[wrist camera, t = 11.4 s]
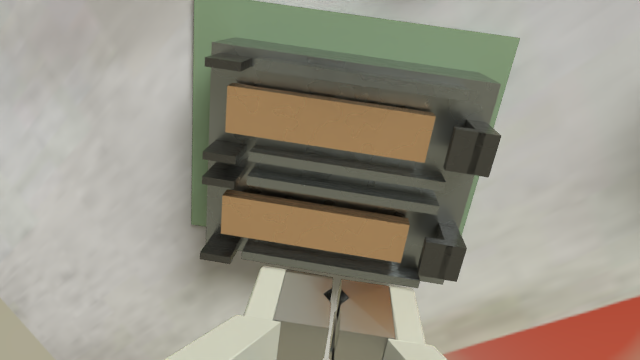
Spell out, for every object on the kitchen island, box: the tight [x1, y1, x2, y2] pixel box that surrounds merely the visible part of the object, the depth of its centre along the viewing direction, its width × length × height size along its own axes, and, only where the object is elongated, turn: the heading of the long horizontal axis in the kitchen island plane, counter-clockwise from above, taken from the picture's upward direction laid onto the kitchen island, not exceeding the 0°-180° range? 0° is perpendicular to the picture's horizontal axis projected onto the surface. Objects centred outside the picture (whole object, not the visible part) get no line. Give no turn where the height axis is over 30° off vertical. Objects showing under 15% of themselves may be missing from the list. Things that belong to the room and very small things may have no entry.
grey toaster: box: [200, 37, 501, 288], centre depth 28 cm, size 17×14×8 cm
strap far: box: [221, 189, 410, 263], centre depth 28 cm, size 12×3×1 cm, turn 82°
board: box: [191, 0, 520, 236], centre depth 32 cm, size 22×18×1 cm
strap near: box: [225, 83, 436, 163], centre depth 25 cm, size 12×3×1 cm, turn 82°
